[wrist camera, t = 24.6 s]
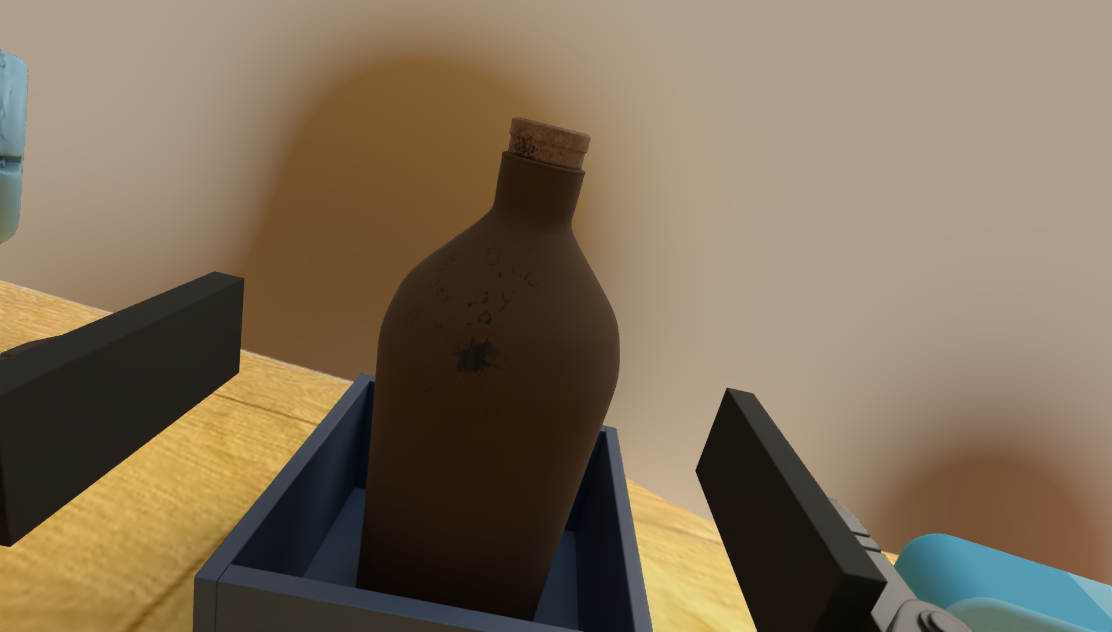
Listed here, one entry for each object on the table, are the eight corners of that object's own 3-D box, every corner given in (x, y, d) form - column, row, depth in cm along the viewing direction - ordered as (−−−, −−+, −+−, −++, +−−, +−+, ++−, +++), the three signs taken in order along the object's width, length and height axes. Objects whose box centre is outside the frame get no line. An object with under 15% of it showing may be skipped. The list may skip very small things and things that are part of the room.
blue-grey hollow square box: (188, 745, 22) (193, 576, 19) (346, 485, 37) (361, 372, 35) (598, 814, 23) (659, 664, 20) (584, 533, 38) (616, 427, 36)
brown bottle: (570, 681, 27) (742, 173, 19) (340, 727, 23) (440, 97, 15) (511, 527, 36) (611, 140, 28) (338, 540, 32) (400, 87, 24)
